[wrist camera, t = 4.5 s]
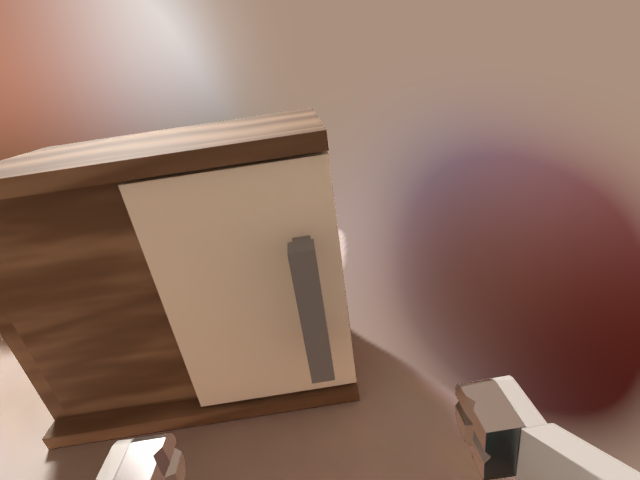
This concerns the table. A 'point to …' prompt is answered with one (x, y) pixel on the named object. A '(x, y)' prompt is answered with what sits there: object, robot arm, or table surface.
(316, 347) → the sliding door
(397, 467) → the table surface
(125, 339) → the cabinet
